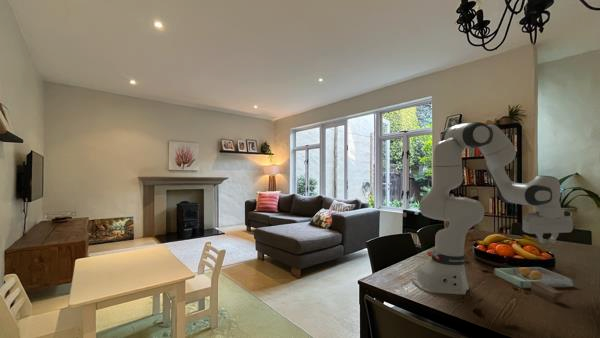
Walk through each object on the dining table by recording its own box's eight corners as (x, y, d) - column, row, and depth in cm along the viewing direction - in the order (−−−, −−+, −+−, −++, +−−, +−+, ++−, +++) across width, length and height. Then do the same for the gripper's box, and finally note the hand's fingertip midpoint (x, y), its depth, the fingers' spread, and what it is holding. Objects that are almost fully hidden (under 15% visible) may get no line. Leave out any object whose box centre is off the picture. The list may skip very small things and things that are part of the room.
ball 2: (536, 281, 115) (536, 272, 115) (527, 277, 119) (527, 269, 119) (544, 281, 115) (544, 272, 115) (536, 277, 119) (536, 269, 119)
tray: (521, 288, 111) (521, 281, 111) (494, 274, 125) (494, 268, 125) (538, 287, 111) (538, 280, 111) (509, 274, 126) (509, 268, 126)
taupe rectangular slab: (553, 304, 98) (553, 292, 98) (531, 292, 108) (531, 281, 108) (563, 304, 98) (563, 292, 98) (539, 292, 108) (539, 281, 108)
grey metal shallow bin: (540, 287, 111) (540, 280, 111) (511, 274, 126) (511, 267, 126) (572, 286, 112) (572, 279, 112) (540, 273, 127) (540, 267, 127)
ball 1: (524, 277, 119) (524, 268, 119) (517, 274, 123) (517, 265, 123) (533, 277, 119) (533, 268, 119) (525, 273, 123) (525, 265, 123)
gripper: (530, 213, 112) (531, 245, 113) (576, 212, 113) (576, 243, 113) (518, 211, 119) (518, 241, 119) (561, 209, 119) (561, 239, 120)
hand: (547, 242), depth 116 cm, fingers open, 3 cm apart
